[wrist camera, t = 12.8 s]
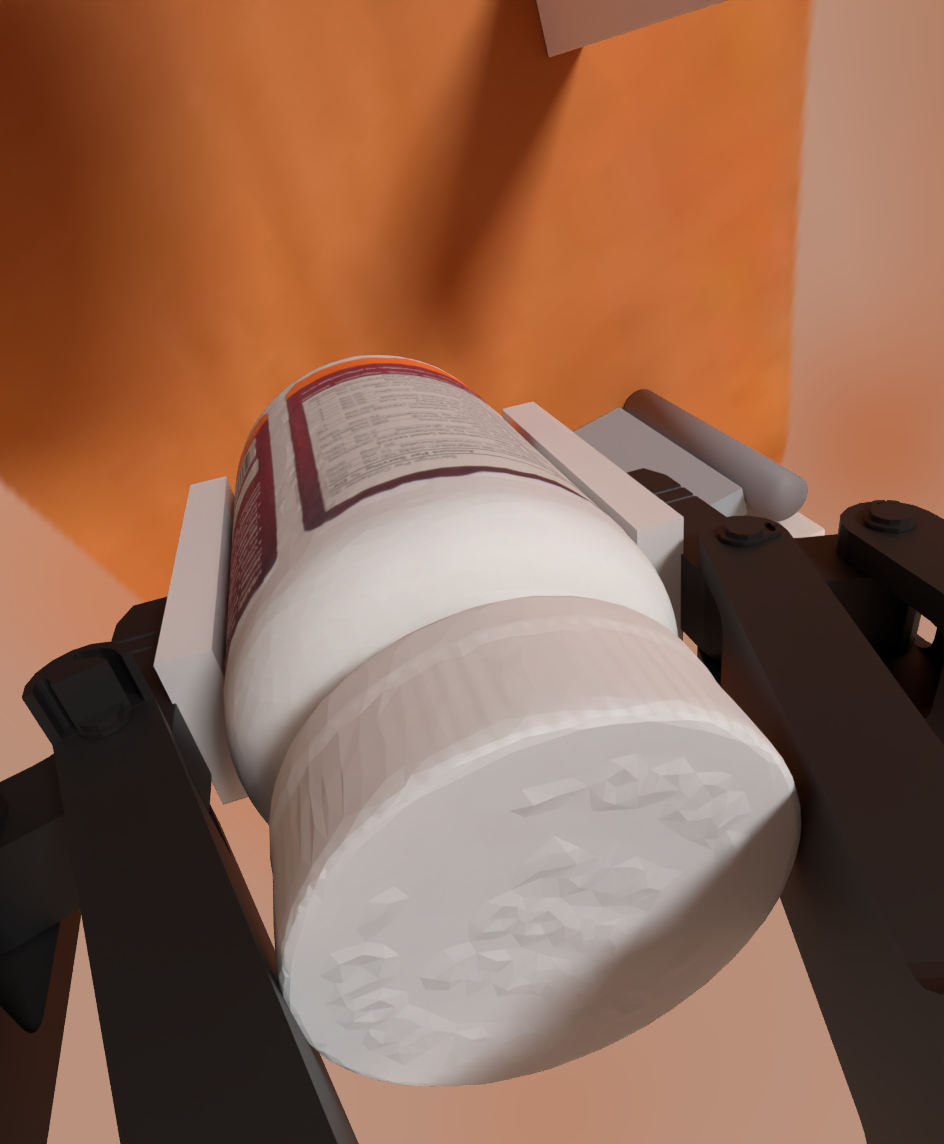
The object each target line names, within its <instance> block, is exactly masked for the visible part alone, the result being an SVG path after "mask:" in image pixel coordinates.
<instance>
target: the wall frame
mask: <svg viewBox="0 0 944 1144" xmlns="http://www.w3.org/2000/svg"><path fill="white" fill-rule="evenodd" d="M723 1H726V0H536V2H537V6H538V11H539V15H540V20H541V24H542V29H543V34H544V38H545V43H546V47H547V52H548V56H549V58H550V57H553V56H556V55H559V54H562V53H565V52H568V51H571V50H575V49H578V48H581V47H584V46H587V45H590V44H593V43H596V42H599V41H602V40H606V39H609V38H612V37H615V36H618V35H621V34H624V33H627V32H630V31H633V30H637V29H640V28H643V27H646V26H649V25H652V24H655V23H658V22H661V21H664V20H668V19H671V18H674V17H677V16H680V15H683V14H686V13H689V12H692V11H695V10H699V9H702V8H705V7H708V6H711V5H714V4H717V3H720V2H723ZM745 504H746V503H745ZM746 509H747V514H745V515H743V516H755V517H762V518H767V517H765V516H764V515H762V514H761V513H760V512H758V511H757V510H755V509H754V508H752V507H751V506H749V505H748V504H746ZM767 519H768V518H767ZM769 520H770V519H769ZM775 522H777V523H779V524H781V525H782V526H783V527H784V528H786V529H787V530H788V531H789V533H790V534H791V535H792V537H793V538H802V537H813V536H824V535H825V530H824V528H822V527H820V526H819V525H818V524H816V523H814V522H813V521H811V520H810V519H808V518H807V517H805V516H803V515H802V514H800V513H799V512H797V513H795V514H794V515H793V516H792V517H790V518H788V519H786V520H783V521H775Z"/></svg>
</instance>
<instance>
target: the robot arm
mask: <svg viewBox="0 0 944 1144" xmlns="http://www.w3.org/2000/svg"><path fill="white" fill-rule="evenodd" d="M502 414H503V418H504V420H505V421H506V422H507V423H509V424H510V425H511V426H512V427H513V428H514V429H515V430H516V431H517V432H518V433H519V434H520V435H521V436H522V437H523V438H524V439H525V440H526V441H528V442H529V443H530V444H531V445H532V446H533V447H534V448H535V449H536V450H537V451H538V452H540V453H541V454H542V455H543V456H544V457H545V458H546V459H547V460H548V461H549V462H550V463H551V464H553V465H554V466H555V467H556V468H557V469H558V470H559V471H560V472H561V473H562V474H563V475H564V476H565V477H567V478H568V479H569V480H570V481H571V482H572V483H573V484H574V485H575V486H576V487H577V488H578V489H580V490H581V491H582V492H583V493H584V494H585V495H586V496H587V497H588V498H589V499H590V500H591V501H593V502H594V503H595V504H596V505H597V506H598V507H599V508H600V509H601V510H602V511H603V512H605V513H606V514H607V515H609V516H610V517H611V518H612V519H613V520H614V521H615V522H617V523H618V524H619V525H620V526H621V527H622V528H623V530H624V531H625V532H626V534H627V535H628V536H629V537H630V538H631V539H632V540H633V541H634V542H635V544H636V545H637V546H638V547H639V548H640V549H641V550H642V551H643V553H644V554H645V555H646V557H647V558H648V560H649V561H650V562H651V564H652V565H653V567H654V568H655V570H656V572H657V574H658V575H659V577H660V579H661V581H662V582H663V584H664V587H665V589H666V592H667V594H668V596H669V599H670V601H671V605H672V608H673V611H674V615H675V620H676V624H677V630H678V638H680V639H681V640H682V641H683V631H684V632H685V633H686V634H687V635H688V636H689V638H690V639H692V641H693V642H694V643H695V644H696V645H697V646H698V649H697V650H698V651H697V658H698V659H699V660H700V661H701V662H702V663H703V664H704V665H705V666H706V667H707V669H708V670H709V671H710V673H711V674H712V676H713V677H714V679H715V680H716V682H717V683H718V684H719V686H720V687H721V688H722V689H723V690H724V691H725V692H726V693H727V694H728V695H729V696H730V697H731V699H732V700H733V701H734V702H735V703H736V704H737V705H738V706H739V707H740V708H741V709H742V711H743V712H744V713H745V714H746V715H747V716H748V717H749V718H750V719H751V721H752V722H753V723H754V724H755V725H756V726H757V727H758V729H759V730H760V731H761V732H762V733H763V734H764V735H765V737H766V738H767V739H768V740H769V741H770V742H771V744H772V745H773V746H774V748H775V749H776V750H777V751H778V753H779V754H780V755H781V757H782V758H783V760H784V762H785V764H786V765H787V767H788V769H789V771H790V773H791V775H792V777H793V780H794V783H795V787H796V790H797V794H798V798H799V802H800V808H801V822H802V824H801V836H800V842H799V846H798V851H797V855H796V858H795V862H794V865H793V868H792V870H791V873H790V875H789V877H788V880H787V882H786V885H785V887H784V889H783V892H782V894H781V896H780V899H781V901H782V904H783V907H784V910H785V913H786V915H787V918H788V920H789V924H790V926H791V929H792V932H793V934H794V937H795V940H796V943H797V945H798V948H799V951H800V954H801V957H802V959H803V962H804V965H805V968H806V971H807V973H808V976H809V979H810V982H811V984H812V987H813V990H814V993H815V995H816V998H817V1001H818V1004H819V1006H820V1009H821V1012H822V1015H823V1017H824V1020H825V1023H826V1025H827V1028H828V1031H829V1034H830V1037H831V1040H832V1042H833V1045H834V1048H835V1050H836V1053H837V1056H838V1059H839V1062H840V1064H841V1067H842V1070H843V1073H844V1075H845V1078H846V1081H847V1084H848V1086H849V1089H850V1092H851V1095H852V1098H853V1100H854V1103H855V1106H856V1108H857V1111H858V1114H859V1117H860V1120H861V1123H862V1127H863V1129H864V1133H865V1137H866V1142H867V1144H944V519H942V518H940V517H939V516H937V515H935V514H933V513H931V512H929V511H927V510H924V509H922V508H919V507H917V506H914V505H910V504H905V503H900V502H899V501H892V500H887V501H885V500H876V501H873V502H866V503H859V504H857V505H854V506H851V507H849V508H847V509H846V510H845V511H844V512H843V513H842V514H841V515H840V523H839V530H838V534H835V535H824V536H813V537H802V538H793V537H792V535H791V534H790V533H789V531H788V530H787V529H786V528H784V527H783V526H782V525H781V524H779V523H777V522H775V521H772V520H769V519H767V518H762V517H755V516H729V517H726V516H725V515H723V514H722V513H720V512H719V511H717V510H716V509H715V508H713V507H712V506H710V505H709V504H707V503H706V502H705V501H703V500H702V499H700V498H699V497H697V496H693V493H692V492H690V491H689V490H687V489H686V488H684V487H682V488H681V485H680V484H679V483H677V482H676V481H674V480H673V479H672V478H670V477H669V476H667V475H666V474H662V473H659V472H655V471H652V470H649V469H645V468H642V469H638V470H634V471H630V472H624V471H623V470H622V469H620V468H619V467H618V466H617V465H615V464H614V463H613V462H611V461H610V460H609V459H607V458H606V457H605V456H603V455H602V454H601V453H600V452H598V451H597V450H596V449H594V448H593V447H592V446H590V445H589V444H588V443H587V442H585V441H584V440H583V439H581V438H580V437H579V436H577V435H576V434H575V433H574V432H572V431H571V430H570V429H568V428H567V427H566V426H564V425H563V424H562V423H561V422H559V421H558V420H557V419H555V418H554V417H553V416H551V415H550V414H549V413H548V412H546V411H545V410H544V409H542V408H541V407H540V406H538V405H537V404H536V403H534V402H529V403H525V404H521V405H517V406H513V407H509V408H505V409H502ZM233 520H234V495H233V492H232V489H231V487H230V484H229V481H228V479H227V476H225V477H221V478H217V479H213V480H209V481H204V482H200V483H196V484H192V485H190V490H189V495H188V500H187V505H186V509H185V514H184V519H183V524H182V529H181V534H180V539H179V544H178V549H177V553H176V558H175V563H174V568H173V573H172V578H171V583H170V588H169V592H168V597H164V598H161V599H157V600H153V601H149V602H146V603H142V604H138V605H135V606H133V607H132V608H131V609H130V610H129V611H128V612H127V613H126V615H125V616H124V617H123V618H122V619H121V620H120V621H119V622H118V623H117V625H116V628H115V631H114V634H113V638H112V641H111V642H104V643H96V644H90V645H87V646H84V647H81V648H79V649H75V650H72V651H70V652H68V653H66V654H64V655H63V656H61V657H59V658H57V659H55V660H53V661H51V662H50V663H49V664H47V665H46V666H45V667H43V668H42V669H41V670H39V671H38V672H37V673H35V675H34V676H33V677H32V678H31V680H30V681H29V682H28V683H27V684H26V686H25V688H24V692H23V695H22V699H23V701H24V702H25V704H26V705H27V707H28V708H29V710H30V711H31V713H32V714H33V716H34V717H35V719H36V720H37V722H38V724H39V725H40V727H41V728H42V730H43V731H44V733H45V734H46V736H47V738H48V739H49V741H50V742H51V743H52V745H53V750H54V754H53V755H51V756H50V757H48V758H46V759H44V760H43V761H41V762H39V763H37V764H36V765H34V766H32V767H30V768H28V769H26V770H24V771H22V772H20V773H18V774H16V775H14V776H12V777H10V778H7V779H6V780H3V781H2V782H0V1144H47V1137H48V1131H49V1125H50V1118H51V1110H52V1105H53V1098H54V1091H55V1084H56V1078H57V1071H58V1065H59V1058H60V1052H61V1045H62V1038H63V1032H64V1025H65V1018H66V1011H67V1005H68V998H69V992H70V985H71V978H72V972H73V965H74V959H75V952H76V945H77V938H78V932H79V925H80V919H81V915H82V921H83V927H84V932H85V938H86V944H87V950H88V956H89V961H90V968H91V974H92V979H93V985H94V990H95V997H96V1003H97V1009H98V1014H99V1021H100V1026H101V1032H102V1038H103V1044H104V1050H105V1055H106V1061H107V1067H108V1073H109V1079H110V1085H111V1090H112V1096H113V1103H114V1109H115V1114H116V1120H117V1125H118V1132H119V1137H120V1143H121V1144H359V1143H358V1142H357V1139H356V1137H355V1135H354V1132H353V1130H352V1127H351V1125H350V1123H349V1120H348V1118H347V1116H346V1114H345V1111H344V1109H343V1107H342V1104H341V1102H340V1100H339V1097H338V1095H337V1093H336V1090H335V1088H334V1086H333V1084H332V1081H331V1079H330V1077H329V1074H328V1072H327V1070H326V1067H325V1065H324V1063H323V1060H322V1058H321V1056H320V1053H319V1052H318V1051H317V1050H316V1049H314V1048H313V1047H312V1046H311V1045H310V1044H309V1043H308V1041H307V1040H306V1038H305V1036H304V1034H303V1032H302V1031H301V1029H300V1027H299V1025H298V1024H297V1022H296V1020H295V1018H294V1016H293V1015H292V1013H291V1011H290V1009H289V1007H288V1005H287V1003H286V1001H285V1000H284V998H283V995H282V993H281V991H280V988H279V983H278V976H277V970H276V954H275V950H274V947H273V945H272V943H271V940H270V938H269V936H268V933H267V931H266V929H265V927H264V924H263V922H262V920H261V917H260V915H259V913H258V910H257V908H256V906H255V903H254V901H253V899H252V897H251V894H250V892H249V890H248V887H247V885H246V883H245V880H244V878H243V876H242V873H241V871H240V869H239V866H238V864H237V862H236V860H235V857H234V855H233V853H232V850H231V848H230V846H229V844H228V841H227V839H226V837H225V834H224V832H223V829H222V827H221V825H220V823H219V821H218V819H217V817H216V815H215V813H214V811H213V809H212V807H211V805H210V792H211V781H212V783H213V785H214V787H215V789H216V791H217V793H218V795H219V797H220V799H221V801H222V803H223V804H227V803H230V802H233V801H236V800H239V799H243V798H246V797H248V795H247V793H246V791H245V789H244V788H243V786H242V784H241V782H240V780H239V778H238V775H237V772H236V770H235V767H234V764H233V762H232V759H231V754H230V750H229V745H228V741H227V734H226V725H225V709H224V703H223V687H224V676H225V657H226V637H227V619H228V602H229V590H230V568H231V555H232V533H233ZM921 614H922V615H923V616H924V617H926V618H927V619H928V620H930V621H931V622H932V623H933V624H934V625H935V626H936V627H937V631H936V635H935V639H934V641H933V643H932V644H931V643H929V642H927V641H925V640H924V639H923V638H921V637H920V636H919V635H918V634H917V631H918V626H919V622H920V617H921Z"/></svg>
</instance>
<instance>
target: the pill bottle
mask: <svg viewBox="0 0 944 1144" xmlns="http://www.w3.org/2000/svg"><path fill="white" fill-rule="evenodd" d="M223 703H224V709H225V725H226V734H227V741H228V745H229V750H230V754H231V759H232V762H233V764H234V767H235V770H236V772H237V775H238V778H239V780H240V782H241V784H242V786H243V788H244V789H245V791H246V793H247V795H248V797H249V798H250V800H251V802H252V803H253V805H254V806H255V808H256V809H257V811H258V812H259V813H260V815H261V816H262V817H263V818H264V820H265V821H266V822H267V823H268V825H269V829H270V830H269V831H270V860H271V867H272V872H273V910H274V911H273V912H274V913H273V914H274V938H275V954H276V970H277V976H278V983H279V988H280V991H281V993H282V995H283V998H284V1000H285V1001H286V1003H287V1005H288V1007H289V1009H290V1011H291V1013H292V1015H293V1016H294V1018H295V1020H296V1022H297V1024H298V1025H299V1027H300V1029H301V1031H302V1032H303V1034H304V1036H305V1038H306V1040H307V1041H308V1043H309V1044H310V1045H311V1046H312V1047H313V1048H314V1049H316V1050H317V1051H318V1052H319V1053H320V1054H322V1055H323V1056H325V1057H326V1058H327V1059H329V1060H330V1061H332V1062H333V1063H336V1064H338V1065H339V1066H342V1067H344V1068H346V1069H348V1070H350V1071H352V1072H355V1073H358V1074H360V1075H362V1076H366V1077H369V1078H372V1079H376V1080H379V1081H384V1082H391V1083H396V1084H402V1085H417V1086H429V1087H433V1086H462V1085H477V1084H479V1085H480V1084H487V1083H493V1082H498V1081H503V1080H508V1079H511V1078H516V1077H520V1076H525V1075H529V1074H533V1073H537V1072H541V1071H544V1070H548V1069H551V1068H554V1067H556V1066H559V1065H562V1064H564V1063H567V1062H569V1061H572V1060H575V1059H578V1058H580V1057H583V1056H585V1055H588V1054H590V1053H592V1052H595V1051H598V1050H600V1049H602V1048H604V1047H606V1046H608V1045H610V1044H613V1043H614V1042H617V1041H619V1040H621V1039H622V1038H624V1037H626V1036H628V1035H630V1034H632V1033H634V1032H636V1031H637V1030H639V1029H641V1028H643V1027H645V1026H646V1025H648V1024H650V1023H652V1022H653V1021H655V1020H656V1019H658V1018H659V1017H661V1016H662V1015H664V1014H665V1013H667V1012H669V1011H670V1010H672V1009H673V1008H674V1007H676V1006H677V1005H678V1004H680V1003H681V1002H682V1001H684V1000H685V999H686V998H688V997H689V996H690V995H692V994H693V993H694V992H696V991H697V990H698V989H700V988H701V987H702V986H704V985H705V984H706V983H707V982H709V980H711V979H712V978H713V977H714V976H715V975H716V974H717V973H718V972H719V971H720V970H721V969H722V968H723V967H724V966H725V965H726V964H728V963H729V962H730V961H731V960H732V959H733V958H734V957H735V956H736V954H737V953H738V952H739V951H740V950H741V949H742V948H743V947H744V946H745V944H746V943H747V942H748V941H749V940H750V939H751V937H752V936H753V935H754V933H755V932H756V931H757V930H758V928H759V927H760V926H761V925H762V923H763V922H764V921H765V920H766V918H767V916H768V915H769V913H770V911H771V910H772V909H773V907H774V905H775V904H776V902H777V900H778V899H779V897H780V896H781V894H782V892H783V889H784V887H785V885H786V882H787V880H788V877H789V875H790V873H791V870H792V868H793V865H794V862H795V858H796V855H797V851H798V846H799V842H800V836H801V824H802V822H801V808H800V802H799V798H798V794H797V790H796V787H795V783H794V780H793V777H792V775H791V773H790V771H789V769H788V767H787V765H786V764H785V762H784V760H783V758H782V757H781V755H780V754H779V753H778V751H777V750H776V749H775V748H774V746H773V745H772V744H771V742H770V741H769V740H768V739H767V738H766V737H765V735H764V734H763V733H762V732H761V731H760V730H759V729H758V727H757V726H756V725H755V724H754V723H753V722H752V721H751V719H750V718H749V717H748V716H747V715H746V714H745V713H744V712H743V711H742V709H741V708H740V707H739V706H738V705H737V704H736V703H735V702H734V701H733V700H732V699H731V697H730V696H729V695H728V694H727V693H726V692H725V691H724V690H723V689H722V688H721V687H720V686H719V684H718V683H717V682H716V680H715V679H714V677H713V676H712V674H711V673H710V671H709V670H708V669H707V667H706V666H705V665H704V664H703V663H702V662H701V661H700V660H699V659H698V658H697V656H696V655H694V653H693V652H692V651H691V650H690V649H689V648H688V647H687V646H686V645H685V644H684V642H683V641H682V640H681V639H680V638H678V630H677V624H676V620H675V615H674V611H673V608H672V605H671V601H670V599H669V596H668V594H667V592H666V589H665V587H664V584H663V582H662V581H661V579H660V577H659V575H658V574H657V572H656V570H655V568H654V567H653V565H652V564H651V562H650V561H649V560H648V558H647V557H646V555H645V554H644V553H643V551H642V550H641V549H640V548H639V547H638V546H637V545H636V544H635V542H634V541H633V540H632V539H631V538H630V537H629V536H628V535H627V534H626V532H625V531H624V530H623V528H622V527H621V526H620V525H619V524H618V523H617V522H615V521H614V520H613V519H612V518H611V517H610V516H609V515H607V514H606V513H605V512H603V511H602V510H601V509H600V508H599V507H598V506H597V505H596V504H595V503H594V502H593V501H591V500H590V499H589V498H588V497H587V496H586V495H585V494H584V493H583V492H582V491H581V490H580V489H578V488H577V487H576V486H575V485H574V484H573V483H572V482H571V481H570V480H569V479H568V478H567V477H565V476H564V475H563V474H562V473H561V472H560V471H559V470H558V469H557V468H556V467H555V466H554V465H553V464H551V463H550V462H549V461H548V460H547V459H546V458H545V457H544V456H543V455H542V454H541V453H540V452H538V451H537V450H536V449H535V448H534V447H533V446H532V445H531V444H530V443H529V442H528V441H526V440H525V439H524V438H523V437H522V436H521V435H520V434H519V433H518V432H517V431H516V430H515V429H514V428H513V427H512V426H511V425H510V424H509V423H507V422H506V421H505V420H504V418H503V417H502V416H501V415H499V414H498V413H497V412H496V411H495V410H494V409H493V408H492V407H491V406H489V405H488V404H487V403H486V402H485V401H484V400H483V399H482V398H481V397H480V396H479V395H477V394H476V393H475V392H474V391H473V390H471V389H470V388H469V387H468V386H466V385H465V384H464V383H462V382H461V381H459V380H458V379H456V378H455V377H454V376H452V375H450V374H448V373H446V372H445V371H443V370H441V369H439V368H437V367H435V366H432V365H429V364H427V363H424V362H421V361H417V360H413V359H409V358H404V357H399V356H388V355H364V356H356V357H351V358H347V359H343V360H339V361H336V362H332V363H329V364H326V365H324V366H322V367H320V368H317V369H315V370H313V371H311V372H309V373H308V374H306V375H304V376H303V377H301V378H300V379H298V380H296V381H295V382H293V383H292V384H290V385H289V386H288V387H287V388H286V389H285V390H283V391H282V392H281V393H280V394H279V395H278V396H277V397H276V398H275V399H274V400H273V401H272V402H271V403H270V404H269V405H268V406H267V408H266V409H265V410H264V411H263V413H262V414H261V415H260V417H259V418H258V420H257V421H256V423H255V425H254V426H253V428H252V430H251V432H250V434H249V436H248V438H247V441H246V443H245V446H244V449H243V452H242V455H241V458H240V462H239V466H238V472H237V478H236V486H235V495H234V520H233V533H232V555H231V568H230V590H229V602H228V619H227V637H226V657H225V676H224V687H223Z"/></svg>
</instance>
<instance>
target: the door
mask: <svg viewBox="0 0 944 1144" xmlns="http://www.w3.org/2000/svg"><path fill="white" fill-rule="evenodd" d="M574 433H575V434H576V435H577V436H579V437H580V438H581V439H583V440H584V441H585V442H587V443H588V444H589V445H590V446H592V447H593V448H594V449H596V450H597V451H598V452H600V453H601V454H602V455H603V456H605V457H606V458H607V459H609V460H610V461H611V462H613V463H614V464H615V465H617V466H618V467H619V468H620V469H622V470H623V471H624V472H630V471H634V470H638V469H642V468H645V469H649V470H652V471H655V472H659V473H662V474H666V475H667V476H669V477H670V478H672V479H673V480H674V481H676V482H677V483H679V484H680V485H681V488H682V487H684V488H686V489H687V490H689V491H690V492H692V493H693V496H697V497H699V498H700V499H702V500H703V501H705V502H706V503H707V504H709V505H710V506H712V507H713V508H715V509H716V510H717V511H719V512H720V513H722V514H723V515H725V516H726V517H729V516H743V515H745V514H747V509H746V504H748V505H749V506H751V507H752V508H754V509H755V510H757V511H758V512H760V513H761V514H762V515H764V516H765V517H767V518H768V519H770V520H772V521H783V520H786V519H788V518H790V517H792V516H793V515H794V514H795V513H797V512H798V510H799V509H800V508H801V507H802V505H803V504H804V502H805V500H806V497H807V493H808V487H807V483H806V481H805V480H804V479H803V478H802V477H800V476H798V475H797V474H795V473H793V472H792V471H790V470H788V469H786V468H785V467H783V466H781V465H779V464H778V463H776V462H774V461H772V460H770V459H769V458H767V457H765V456H763V455H762V454H760V453H758V452H756V451H755V450H753V449H751V448H749V447H748V446H746V445H744V444H742V443H741V442H739V441H737V440H735V439H734V438H732V437H730V436H728V435H727V434H725V433H723V432H721V431H720V430H718V429H716V428H714V427H713V426H711V425H709V424H707V423H706V422H704V421H702V420H700V419H699V418H697V417H695V416H693V415H692V414H690V413H688V412H686V411H685V410H683V409H681V408H679V407H678V406H676V405H674V404H672V403H671V402H669V401H667V400H665V399H664V398H662V397H660V396H658V395H657V394H655V393H653V392H651V391H649V390H645V389H642V390H638V391H636V392H634V393H633V394H632V395H631V396H630V397H629V398H628V399H627V401H626V403H625V406H624V410H623V409H622V408H620V407H618V408H616V409H614V410H613V411H611V412H609V413H607V414H605V415H603V416H602V417H600V418H598V419H596V420H594V421H593V422H591V423H589V424H587V425H585V426H583V427H582V428H580V429H578V430H576V431H574ZM745 503H746V504H745Z"/></svg>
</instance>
